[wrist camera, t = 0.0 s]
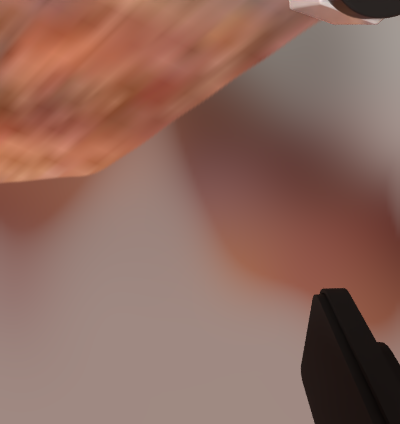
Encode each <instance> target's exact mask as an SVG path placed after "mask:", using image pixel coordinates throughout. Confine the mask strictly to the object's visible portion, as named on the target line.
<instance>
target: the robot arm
mask: <svg viewBox="0 0 400 424" xmlns="http://www.w3.org/2000/svg"><path fill="white" fill-rule="evenodd" d="M301 376H302V381H303V385H304V388H305V391H306V395H307V398H308V402H309V405H310V408H311V412H312V416H313V419H314V422H315V424H400V365H399V363H398V361H397V359H396V358H395V357H394V354H393V353H392V351H391V350H390V348H389V347H388V346H387V345H386V344H385V343H382V342H376V340H375V338H374V337H373V335H372V333H371V331H370V330H369V327H368V326H367V324H366V322H365V320H364V318H363V317H362V315H361V313H360V311H359V310H358V308H357V306H356V304H355V303H354V301H353V299H352V297H351V295H350V294H349V292H348V291H347V290H346V289H345V288H337V289H336V288H334V289H333V288H332V289H322V290H321V291H320V294H319V295H314V296H313V300H312V306H311V311H310V318H309V323H308V329H307V335H306V341H305V346H304V352H303V358H302V364H301Z"/></svg>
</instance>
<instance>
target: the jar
mask: <svg viewBox="0 0 400 424" xmlns="http://www.w3.org/2000/svg"><path fill="white" fill-rule="evenodd" d="M289 4H290V9H291V10H294V11H297V12H300V13H302V14H305V15H308V16H311V17H314V18H316V19H319V20H322V21H325V22H328V23H330V24H334V25H337V24H338V25H339V24H378V23H379V22H380V21H382V20H383V19H384V18H390V17H394V16H398V15H400V0H289Z"/></svg>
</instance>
